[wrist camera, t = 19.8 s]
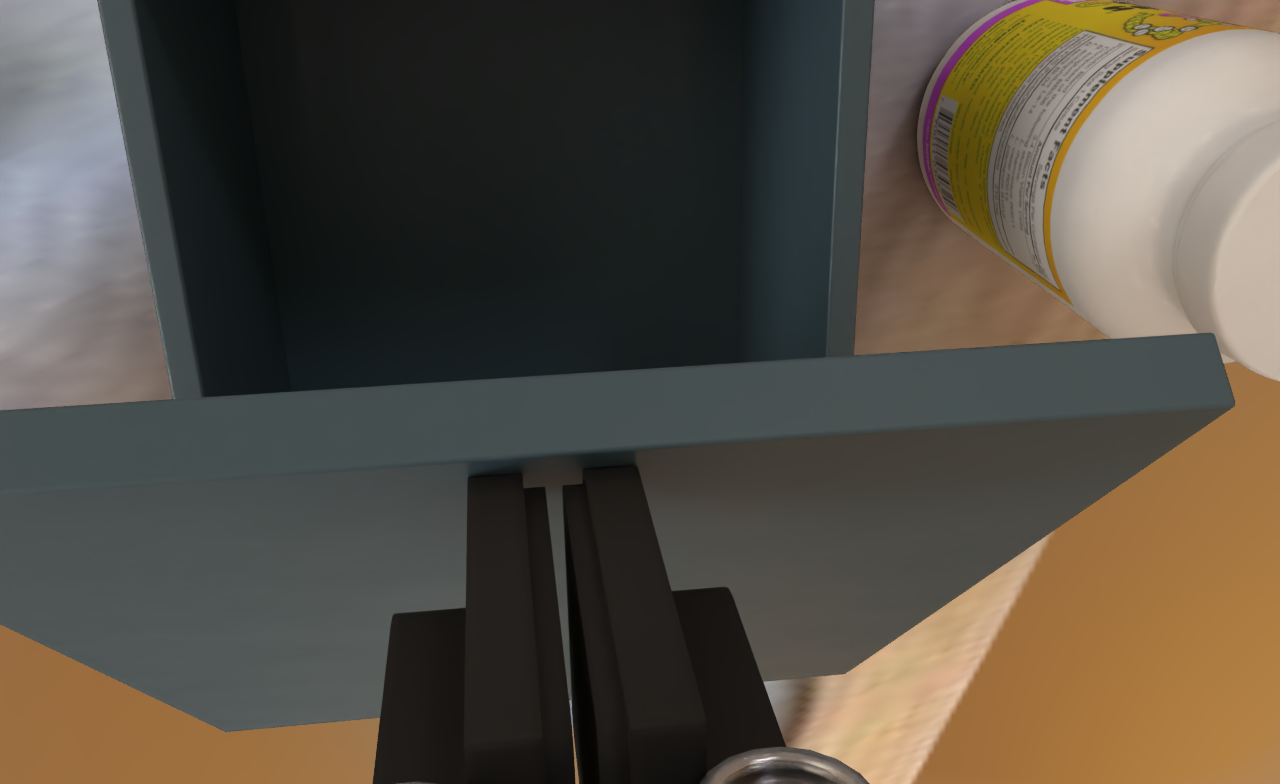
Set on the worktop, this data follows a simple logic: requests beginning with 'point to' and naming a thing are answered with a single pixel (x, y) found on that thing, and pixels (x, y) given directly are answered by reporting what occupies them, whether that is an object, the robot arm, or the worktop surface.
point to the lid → (560, 504)
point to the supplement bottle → (1119, 165)
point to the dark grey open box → (491, 184)
